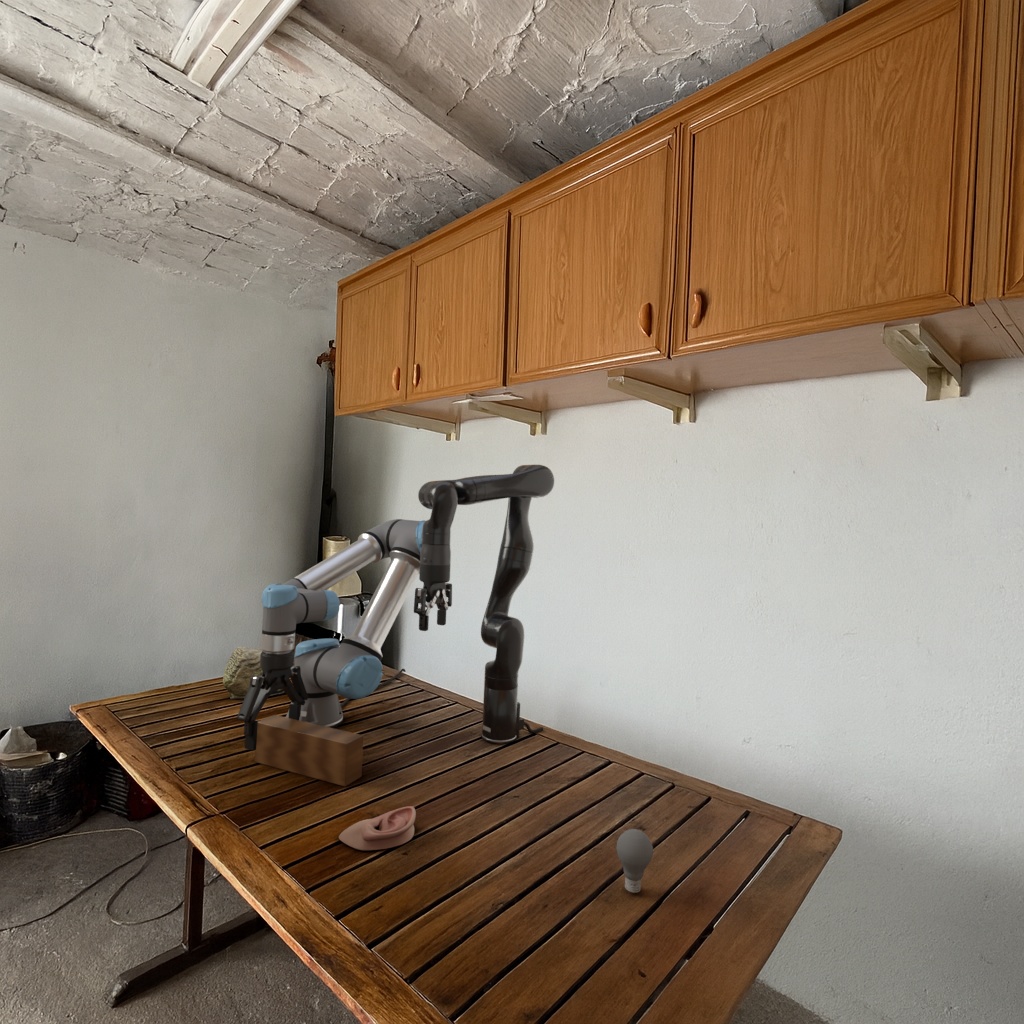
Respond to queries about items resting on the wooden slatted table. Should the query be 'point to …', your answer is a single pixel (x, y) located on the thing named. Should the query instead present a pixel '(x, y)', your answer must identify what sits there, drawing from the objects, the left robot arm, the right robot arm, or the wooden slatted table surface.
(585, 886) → the wooden slatted table surface
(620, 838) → the light bulb
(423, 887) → the wooden slatted table surface
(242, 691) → the fossil
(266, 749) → the bar
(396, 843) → the anatomical model
